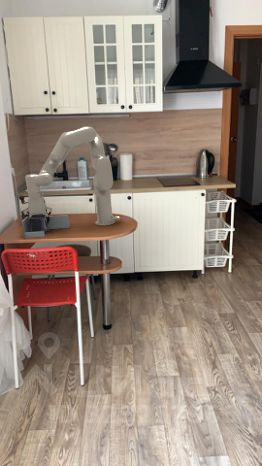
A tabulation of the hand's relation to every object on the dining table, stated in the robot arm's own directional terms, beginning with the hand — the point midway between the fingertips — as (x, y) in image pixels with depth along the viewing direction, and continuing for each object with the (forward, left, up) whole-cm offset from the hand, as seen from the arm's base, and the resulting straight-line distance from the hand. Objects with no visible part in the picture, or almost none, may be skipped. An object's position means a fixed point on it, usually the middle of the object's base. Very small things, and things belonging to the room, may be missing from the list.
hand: (40, 223), depth 227 cm
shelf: (-4, 0, -6) cm, 7 cm away
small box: (0, 0, -6) cm, 6 cm away
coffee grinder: (+14, -27, -6) cm, 31 cm away
